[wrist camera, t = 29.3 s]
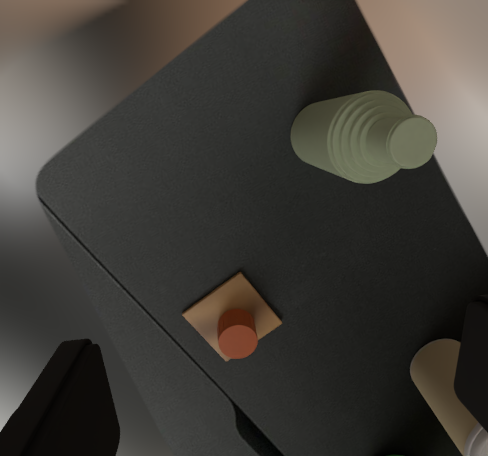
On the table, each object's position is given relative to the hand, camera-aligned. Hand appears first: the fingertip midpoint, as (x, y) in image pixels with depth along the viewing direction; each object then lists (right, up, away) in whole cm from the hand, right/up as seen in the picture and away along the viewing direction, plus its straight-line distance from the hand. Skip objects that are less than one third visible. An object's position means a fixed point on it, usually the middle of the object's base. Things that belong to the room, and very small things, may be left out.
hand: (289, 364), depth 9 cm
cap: (-2, -7, +29) cm, 30 cm away
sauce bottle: (+6, +13, +24) cm, 28 cm away
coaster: (-2, -7, +29) cm, 30 cm away
